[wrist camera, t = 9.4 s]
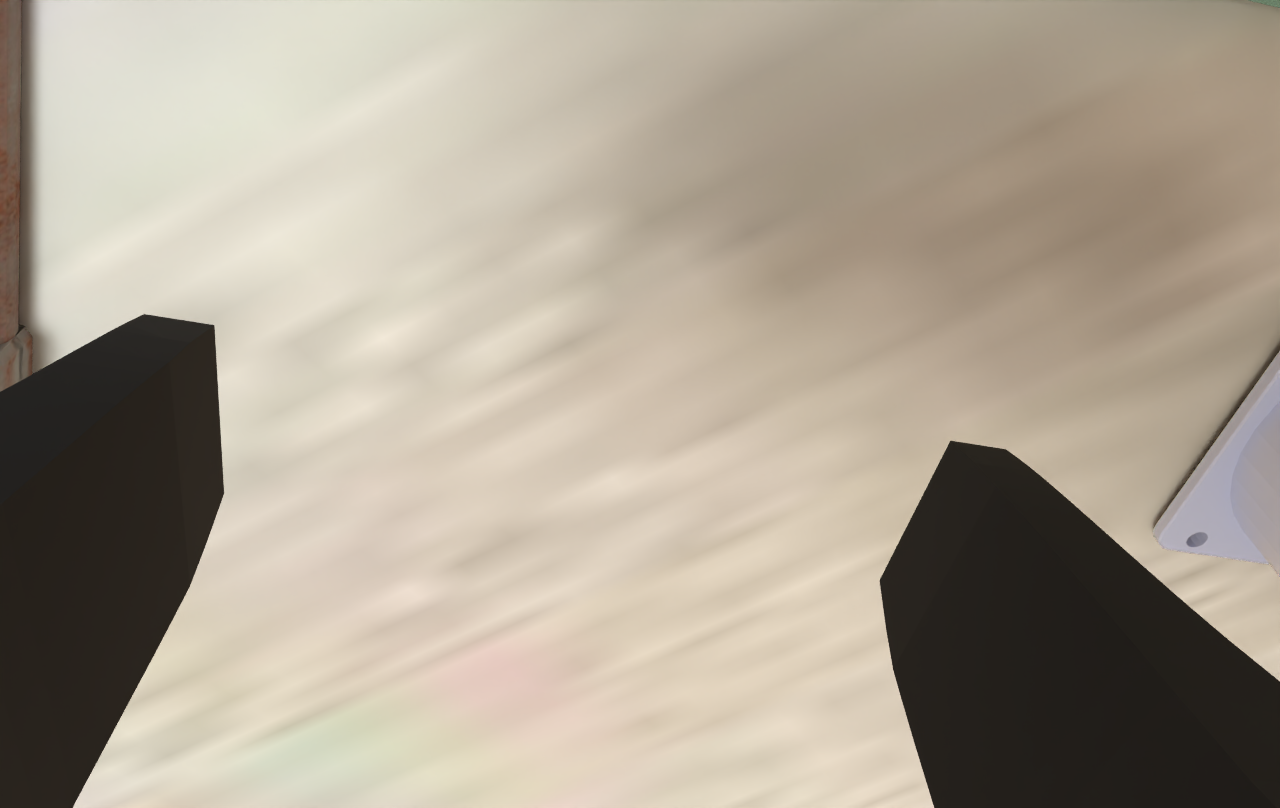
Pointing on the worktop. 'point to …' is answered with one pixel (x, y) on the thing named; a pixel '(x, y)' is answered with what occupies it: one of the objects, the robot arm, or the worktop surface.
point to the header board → (1269, 2)
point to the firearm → (11, 200)
